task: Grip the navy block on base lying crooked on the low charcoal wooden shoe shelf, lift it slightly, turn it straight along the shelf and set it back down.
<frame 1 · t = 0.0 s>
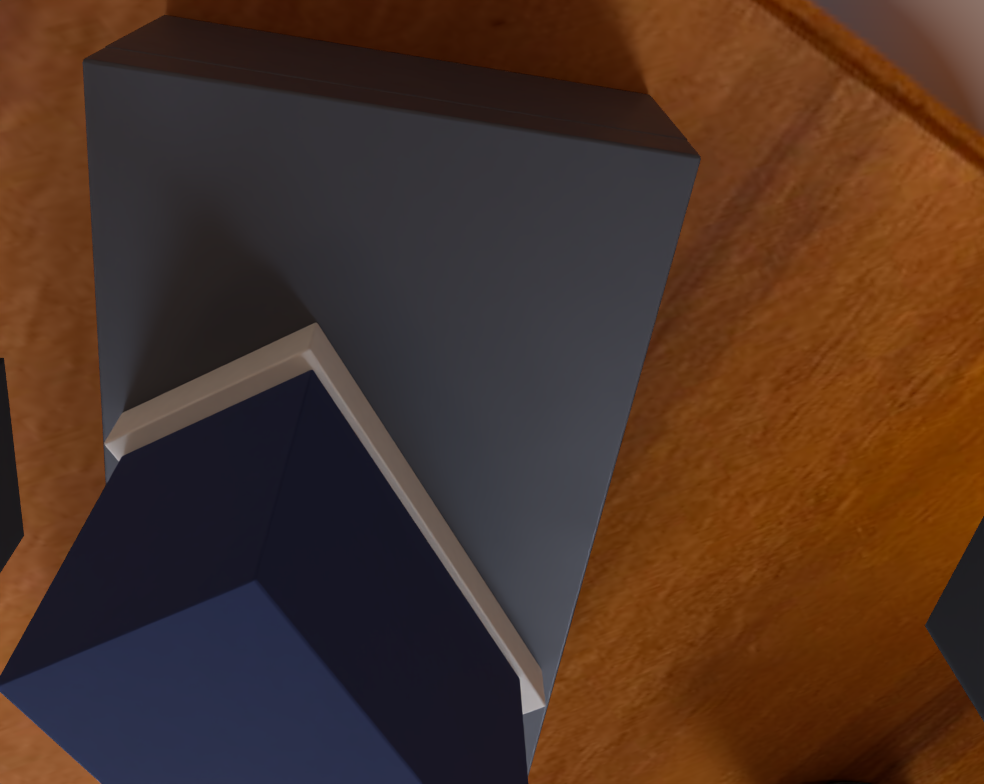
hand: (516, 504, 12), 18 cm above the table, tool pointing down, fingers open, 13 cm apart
shoe shelf: (370, 434, 33), on the table
navy block on base: (352, 554, 27), point 6 cm above the table, touching shoe shelf
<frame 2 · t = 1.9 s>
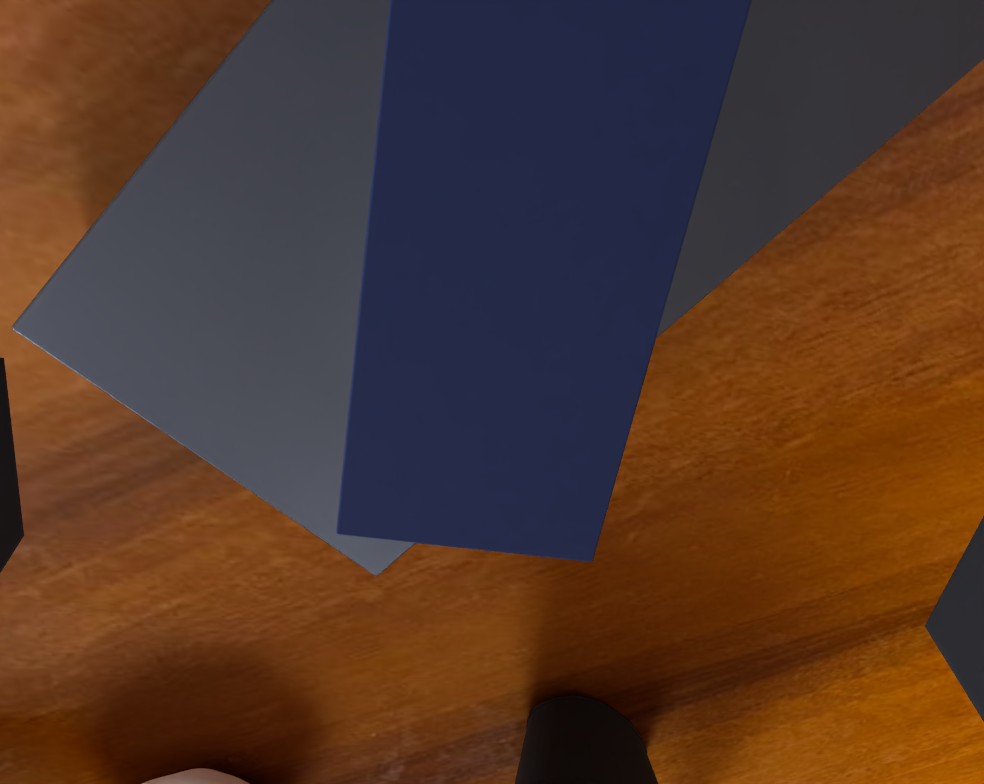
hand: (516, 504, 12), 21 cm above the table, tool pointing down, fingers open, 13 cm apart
high-heeled shoe: (604, 774, 48), on the table
shoe shelf: (488, 116, 30), on the table
navy block on base: (494, 175, 25), point 6 cm above the table, touching shoe shelf
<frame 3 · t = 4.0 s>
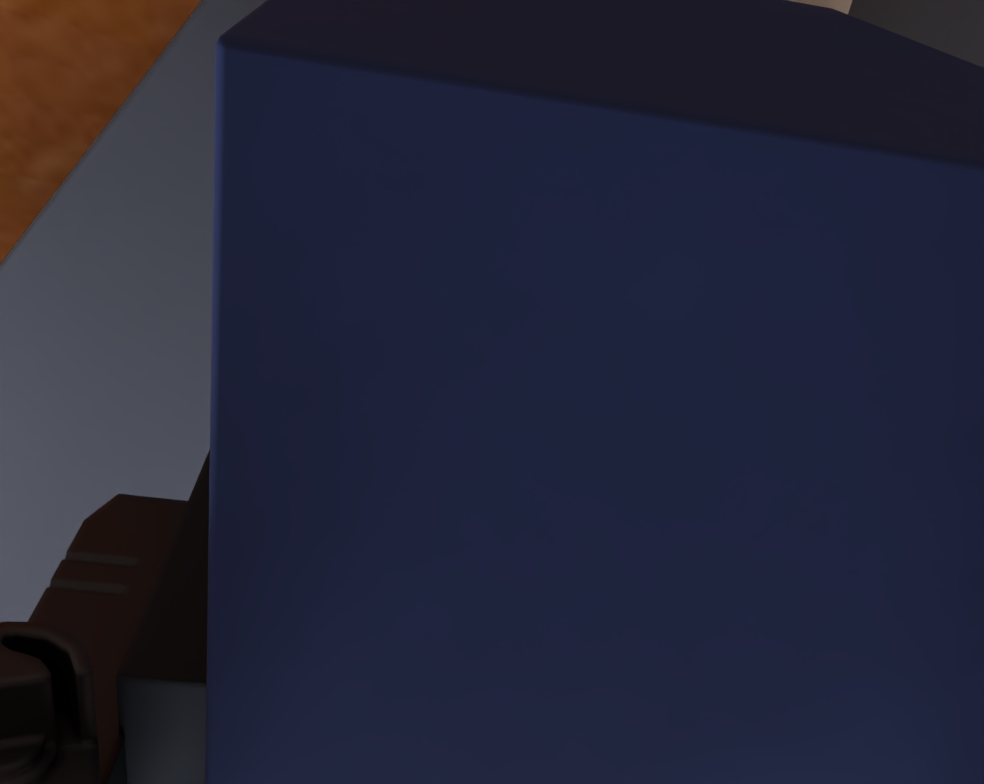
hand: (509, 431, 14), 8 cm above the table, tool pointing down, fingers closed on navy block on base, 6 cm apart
shoe shelf: (490, 243, 21), on the table
navy block on base: (504, 386, 15), point 6 cm above the table, touching gripper, shoe shelf
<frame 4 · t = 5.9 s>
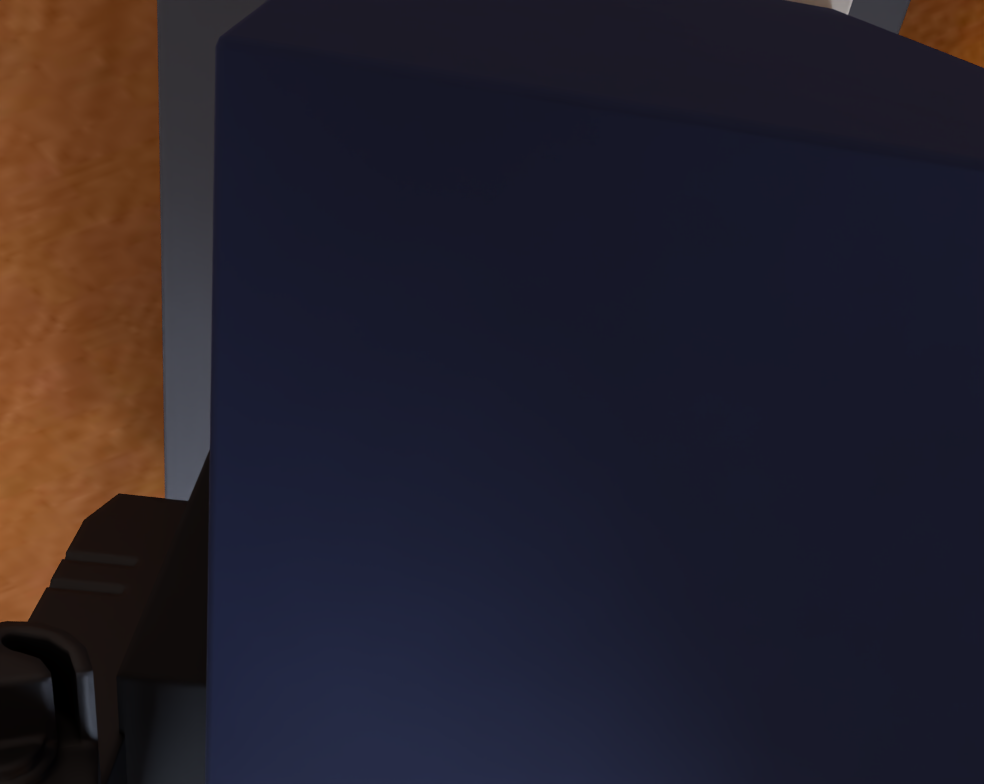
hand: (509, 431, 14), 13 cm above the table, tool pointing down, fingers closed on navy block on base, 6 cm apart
shoe shelf: (484, 171, 25), on the table
navy block on base: (504, 386, 15), point 12 cm above the table, touching gripper
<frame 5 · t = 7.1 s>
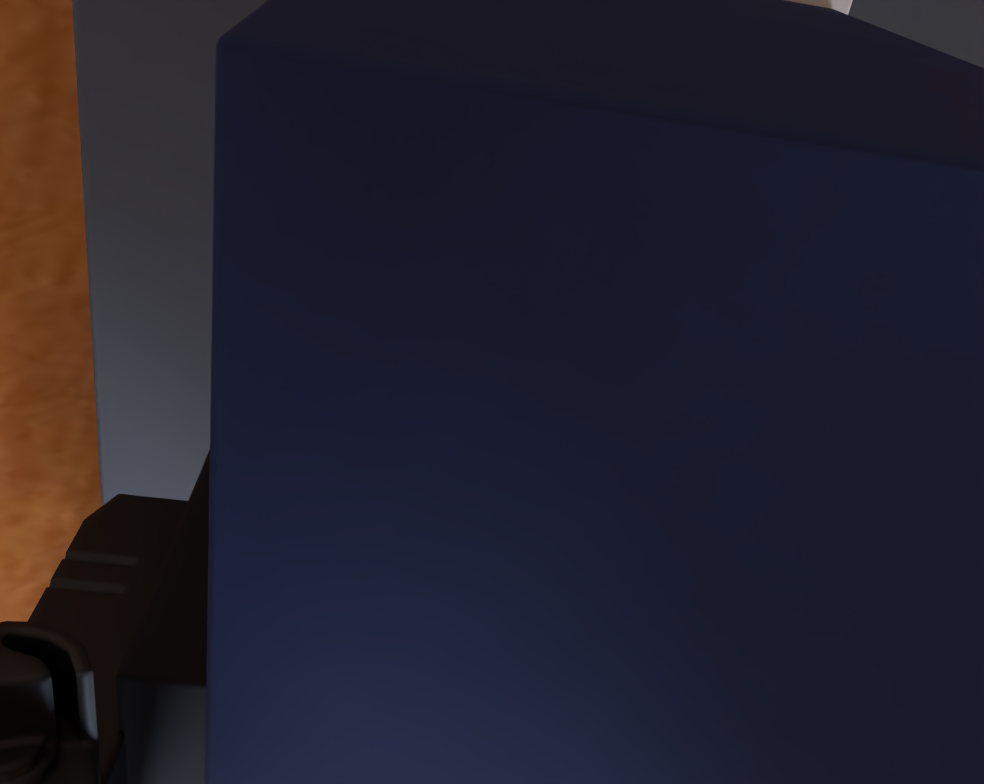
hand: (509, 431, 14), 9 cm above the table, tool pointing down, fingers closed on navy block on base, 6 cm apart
shoe shelf: (489, 225, 22), on the table
navy block on base: (504, 386, 15), point 8 cm above the table, touching gripper
when the fingers open (8 cm above the table, at t = 7.8 s): navy block on base stays where it is, resting on shoe shelf.
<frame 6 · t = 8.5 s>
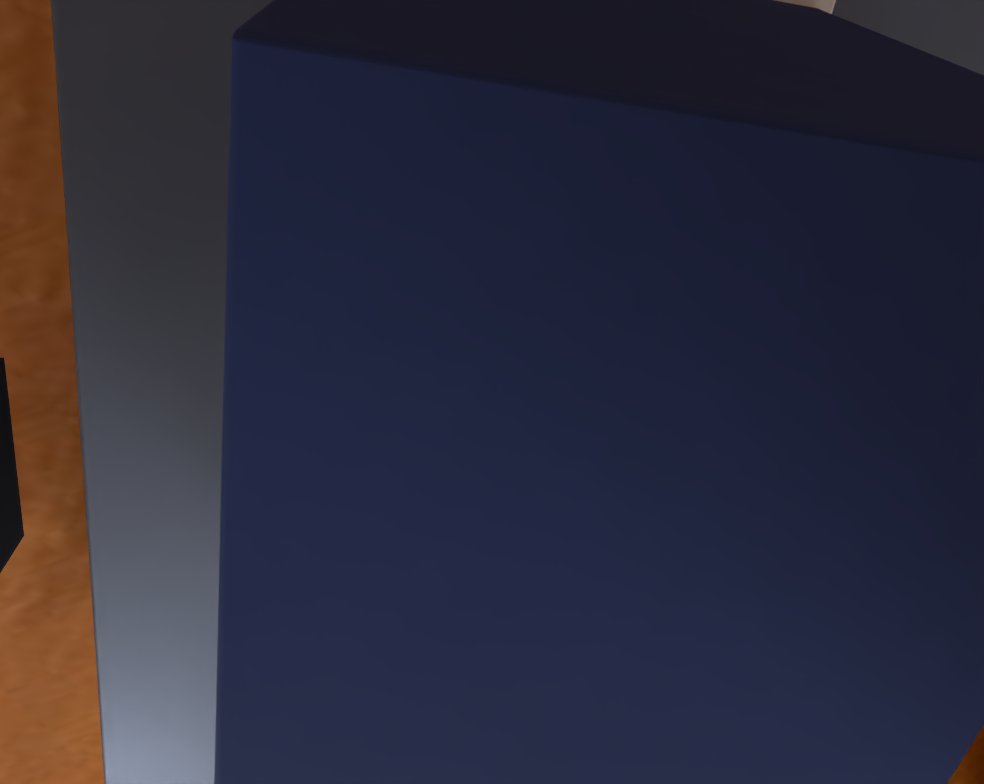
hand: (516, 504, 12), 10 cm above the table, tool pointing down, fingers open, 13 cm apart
shoe shelf: (488, 238, 21), on the table
navy block on base: (501, 376, 15), point 6 cm above the table, touching shoe shelf
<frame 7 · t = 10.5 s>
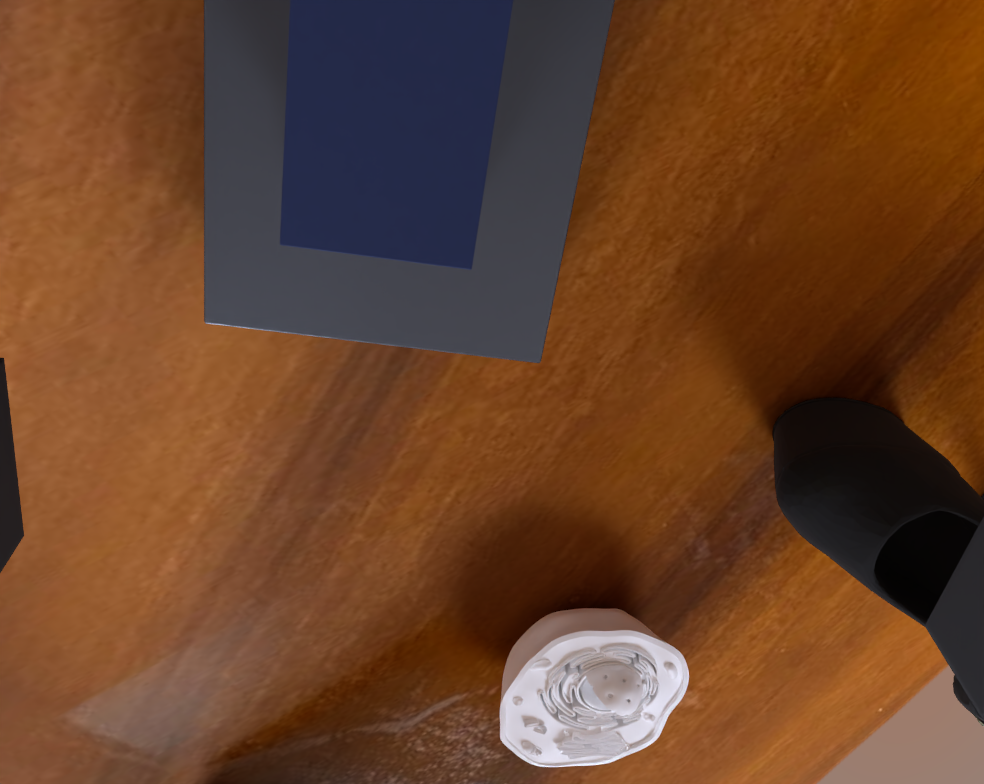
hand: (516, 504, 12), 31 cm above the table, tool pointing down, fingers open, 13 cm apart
high-heeled shoe: (882, 462, 50), on the table
cell model: (579, 638, 56), on the table
navy block on base: (409, 13, 32), point 6 cm above the table, touching shoe shelf
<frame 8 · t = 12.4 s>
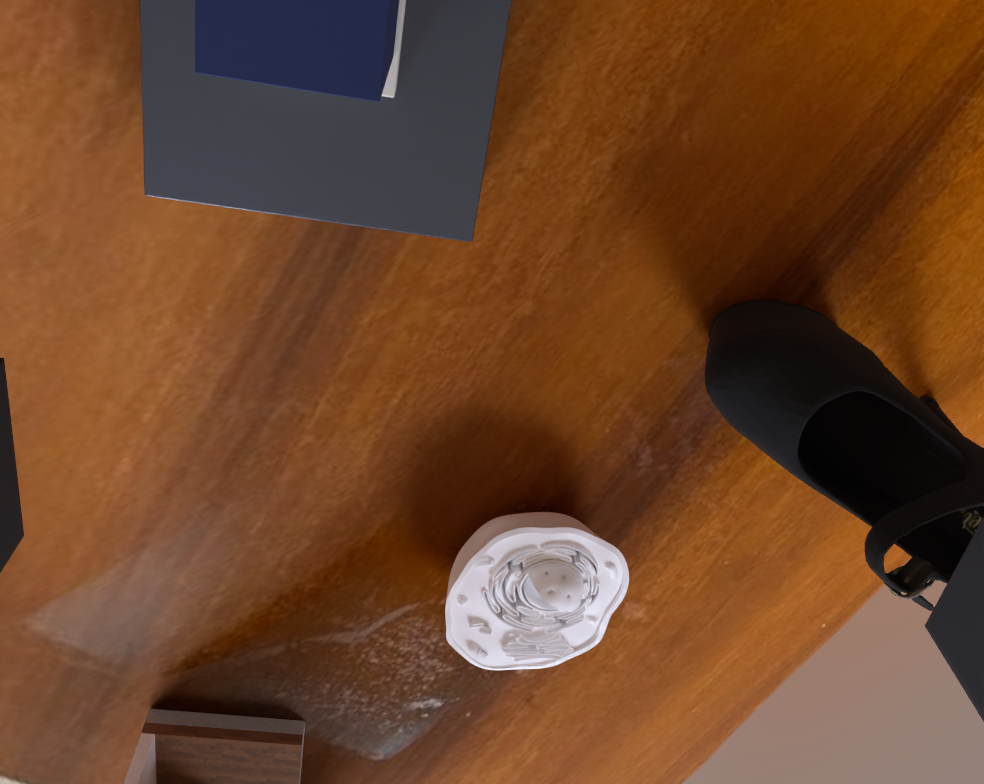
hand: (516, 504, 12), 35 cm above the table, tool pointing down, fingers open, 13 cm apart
white architectural model: (227, 766, 67), on the table
high-heeled shoe: (818, 368, 52), on the table
cell model: (527, 547, 58), on the table
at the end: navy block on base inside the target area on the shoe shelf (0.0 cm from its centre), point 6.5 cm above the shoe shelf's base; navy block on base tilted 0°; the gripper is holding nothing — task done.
